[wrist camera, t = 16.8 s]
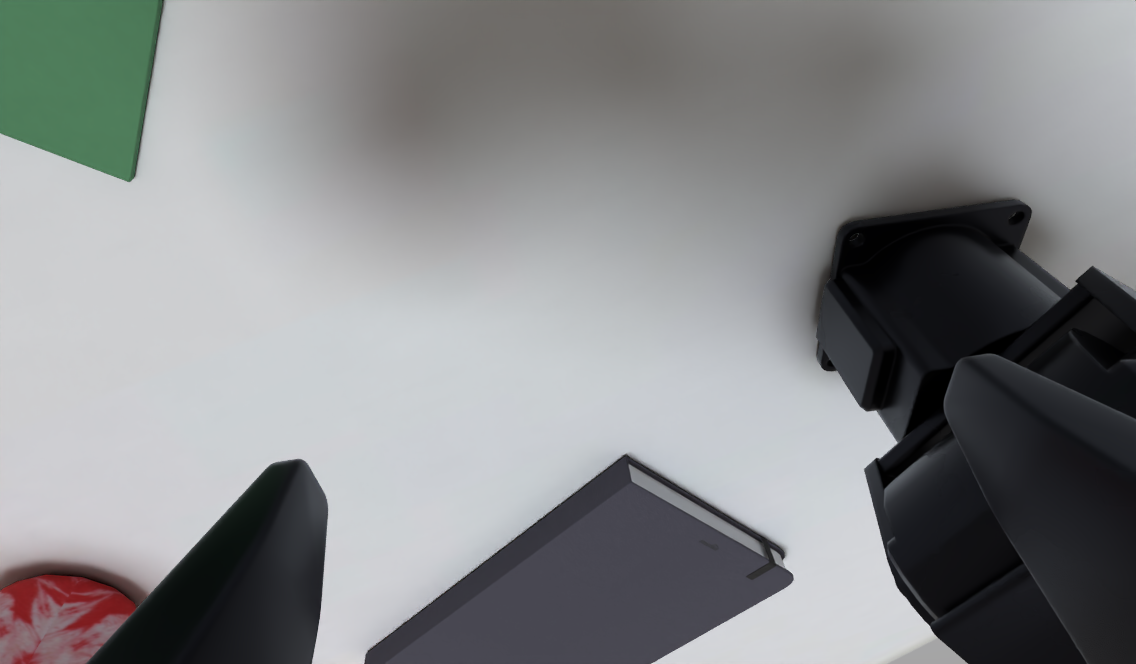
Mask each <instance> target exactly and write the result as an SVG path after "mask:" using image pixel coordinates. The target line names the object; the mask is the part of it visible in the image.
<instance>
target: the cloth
mask: <svg viewBox="0 0 1136 664" xmlns="http://www.w3.org/2000/svg"><path fill="white" fill-rule="evenodd" d="M162 3H163V0H0V133H1V134H4V135H6V136H9V137H12V138H14V139H17V140H19V141H22V142H25V143H27V144H30V145H33V146H35V147H38V148H41V149H43V150H46V151H48V152H51V153H54V154H56V155H59V156H62V157H64V158H67V159H69V160H72V161H75V162H77V163H80V164H83V165H85V166H88V167H91V168H93V169H96V170H98V171H101V172H104V173H106V174H109V175H112V176H114V177H117V178H119V179H122V180H125V181H127V182H130V181H131V180H132V179H134V174H135V168H136V162H137V156H138V150H139V143H140V137H141V131H142V125H143V119H144V113H145V107H146V101H147V95H148V88H149V82H150V76H151V70H152V64H153V58H154V52H155V46H156V40H157V33H158V27H159V21H160V15H161V9H162Z"/></svg>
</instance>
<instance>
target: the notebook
mask: <svg viewBox="0 0 1136 664" xmlns="http://www.w3.org/2000/svg"><path fill="white" fill-rule="evenodd" d="M784 558H785V555H784V552H783V551H782V550H781V549H780V548H779V547H777V546H775V545H774V544H772V543H770V542H769V541H767V540H766V539H765V538H763V537H761V536H759V535H757V534H755V533H754V532H752V531H750V530H749V529H747V528H745V527H744V526H742V525H740V524H739V523H737V522H735V521H734V520H732V519H730V518H729V517H727V516H725V515H724V514H722V513H720V512H718V511H717V510H715V509H713V508H712V507H710V506H708V505H707V504H705V503H703V502H702V501H700V500H698V499H697V498H695V497H693V496H692V495H690V494H688V493H687V492H685V491H683V490H682V489H680V488H678V487H677V486H675V485H673V484H672V483H670V482H668V481H667V480H665V479H663V478H662V477H660V476H658V475H657V474H655V473H653V472H651V471H650V470H648V469H646V468H645V467H643V466H641V465H640V464H638V463H636V462H635V461H633V460H631V459H630V458H628V457H626V456H625V457H623V458H622V459H621V460H619V461H618V462H617V463H615V464H614V465H613V466H611V467H610V468H609V469H608V470H606V471H605V472H604V473H602V474H601V475H600V476H598V477H597V478H596V479H594V480H593V481H592V482H590V483H589V484H588V485H587V486H585V487H584V488H583V489H581V490H580V491H579V492H577V493H576V494H575V495H573V496H572V497H571V498H570V499H568V500H567V501H566V502H564V503H563V504H562V505H560V506H559V507H558V508H556V509H555V510H554V511H552V512H551V513H550V514H549V515H547V516H546V517H545V518H543V519H542V520H541V521H539V522H538V523H537V524H535V525H534V526H533V527H532V528H530V529H529V530H528V531H526V532H525V533H524V534H522V535H521V536H520V537H518V538H517V539H516V540H514V541H513V542H512V543H511V544H509V545H508V546H507V547H505V548H504V549H503V550H501V551H500V552H499V553H497V554H496V555H495V556H494V557H492V558H491V559H490V560H488V561H487V562H486V563H484V564H483V565H482V566H480V567H479V568H478V569H476V570H475V571H474V572H473V573H471V574H470V575H469V576H467V577H466V578H465V579H463V580H462V581H461V582H459V583H458V584H457V585H455V586H454V587H453V588H452V589H450V590H449V591H448V592H446V593H445V594H444V595H442V596H441V597H440V598H438V599H437V600H436V601H435V602H433V603H432V604H431V605H429V606H428V607H427V608H425V609H424V610H423V611H421V612H420V613H419V614H417V615H416V616H415V617H414V618H412V619H411V620H410V621H408V622H407V623H406V624H404V625H403V626H402V627H400V628H399V629H398V630H397V631H395V632H394V633H393V634H391V635H390V636H389V637H387V638H386V639H385V640H383V641H382V642H381V643H379V644H378V645H377V646H376V647H374V648H373V649H372V650H370V651H369V652H368V653H366V657H365V663H364V664H651V663H653V662H655V661H657V660H658V659H660V658H662V657H664V656H665V655H667V654H669V653H671V652H672V651H674V650H676V649H678V648H680V647H681V646H683V645H685V644H687V643H688V642H690V641H692V640H694V639H696V638H697V637H699V636H701V635H703V634H704V633H706V632H708V631H710V630H711V629H713V628H715V627H717V626H719V625H720V624H722V623H724V622H726V621H727V620H729V619H731V618H733V617H735V616H736V615H738V614H740V613H742V612H743V611H745V610H747V609H749V608H750V607H752V606H754V605H756V604H758V603H759V602H761V601H763V600H765V599H766V598H768V597H770V596H772V595H774V594H775V593H777V592H779V591H781V590H782V589H784V588H786V587H787V586H789V585H790V584H791V583H792V582H793V580H794V579H793V574H792V573H791V572H789V571H788V570H786V569H785V566H784V564H783V559H784Z"/></svg>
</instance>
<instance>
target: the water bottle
mask: <svg viewBox="0 0 1136 664" xmlns="http://www.w3.org/2000/svg"><path fill="white" fill-rule="evenodd" d="M135 610H136V606H135V603H133V602H132V601H131V600H130V599H128V598H127V597H126V596H124V595H123V594H122V593H120V592H119V591H118V590H117V589H115V588H113V587H110V586H107V585H104V584H101V583H98V582H95V581H92V580H89V579H86V578H83V577H73V576H59V575H42V576H38V577H33V578H29V579H25V580H21V581H17V582H15V583H13V584H11V585H9V586H7V587H5V588H3V589H2V590H1V591H0V664H86V663H87V662H88V661H89V659H90V658H91V657H92V656H93V655H94V654H95V653H96V652H97V651H98V650H99V649H100V648H101V646H102V645H103V644H104V643H105V642H106V641H107V640H108V639H109V638H110V637H111V636H112V635H113V634H114V632H115V631H116V630H117V629H118V628H119V627H120V626H121V625H122V624H123V623H124V622H125V621H126V619H127V618H128V617H129V616H130V615H131V614H132V613H133V612H134V611H135Z"/></svg>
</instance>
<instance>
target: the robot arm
mask: <svg viewBox="0 0 1136 664" xmlns="http://www.w3.org/2000/svg"><path fill="white" fill-rule="evenodd" d="M1014 213H1016V214H1015V215H1014V216H1013V217H1012V218H1010V217H1011V215H1013V214H1014ZM1031 214H1032V210H1031V208H1030V207H1029V206H1028V205H1026V204H1025V203H1023V202H1022V201H1020V200H1008V201H1000V202H993V203H986V204H978V205H971V206H963V207H956V208H949V209H941V210H934V211H927V212H919V213H912V214H904V215H897V216H890V217H882V218H875V219H868V220H860V221H853V222H850V223H848V224H846V225H845V226H843V227H842V228H841V230H840V231H839V233H838V236H837V241H836V247H835V253H834V259H833V265H832V271H831V277H830V280H828V282H827V283H826V285H825V286H824V292H823V298H822V304H821V310H820V317H819V323H818V329H817V335H816V337H817V340H818V341H819V349H818V355H817V360H818V362H819V364H820V365H821V367H822V368H823V369H824V370H826V371H838V373H839V374H840V376H841V377H842V379H843V381H844V382H845V384H846V385H847V387H848V389H849V390H850V392H851V393H852V395H853V396H854V398H855V400H856V401H857V403H858V404H859V406H860V407H861V408H863V409H864V410H865V411H875V410H877V412H878V414H879V415H880V417H881V418H882V420H883V421H884V423H885V424H886V426H887V427H888V429H889V430H890V432H891V433H892V435H893V436H894V438H895V439H896V441H897V442H898V443H897V444H896V445H895V446H894V447H893V448H892V449H891V450H890V451H888V452H887V453H886V454H885V455H884V456H883V457H882V458H881V459H879V458H876V459H875V460H874V461H873V462H871V463H870V464H869V465H868V466H867V467H866V468H865V469H864V471H865V475H866V479H867V482H868V486H869V490H870V494H871V498H872V502H873V506H874V510H875V514H876V517H877V521H878V525H879V529H880V533H881V537H882V541H883V545H884V548H885V552H886V556H887V560H888V563H889V566H890V569H891V572H892V574H893V576H894V579H895V583H896V585H897V588H898V589H899V591H900V592H901V593H902V594H903V595H904V596H905V597H906V598H907V599H908V601H909V602H910V604H911V605H912V606H913V608H914V609H915V610H916V611H917V612H918V613H919V615H920V616H921V617H922V618H923V619H924V621H925V622H926V623H928V624H929V625H930V627H931V629H932V631H933V633H934V634H935V635H936V636H937V637H938V638H939V639H940V640H941V641H942V642H944V643H945V644H946V645H947V646H948V647H950V648H951V649H952V650H953V651H954V652H955V653H956V654H958V655H959V656H960V657H961V658H962V659H963V660H965V661H966V662H967V663H968V664H1136V291H1134V290H1133V289H1131V288H1129V287H1128V286H1126V285H1124V284H1123V283H1121V282H1119V281H1117V280H1116V279H1114V278H1112V277H1111V276H1109V275H1107V274H1106V273H1104V272H1102V271H1101V270H1099V269H1097V268H1095V267H1094V266H1092V267H1090V268H1089V269H1088V270H1087V271H1086V272H1085V273H1084V274H1083V275H1081V276H1080V277H1079V278H1078V279H1077V280H1076V281H1075V282H1076V283H1078V284H1077V285H1076V286H1075V287H1074V288H1072V289H1071V290H1070V289H1068V288H1067V287H1066V286H1065V285H1063V284H1062V283H1061V282H1060V281H1058V280H1057V279H1056V278H1054V277H1053V276H1052V275H1051V274H1049V273H1048V272H1047V271H1045V270H1044V269H1043V268H1042V267H1040V266H1039V265H1038V264H1037V263H1035V262H1034V261H1033V260H1031V259H1030V258H1029V257H1028V256H1026V255H1025V254H1024V253H1023V252H1021V251H1020V250H1019V248H1020V245H1021V242H1022V240H1023V237H1024V234H1025V231H1026V229H1027V226H1028V223H1029V221H1030V218H1031ZM1009 218H1010V219H1009ZM857 233H859V234H858V237H856V238H855V239H854V240H851V241H849V240H850V238H851V237H852V236H853V235H854V234H857ZM829 359H830V360H829ZM327 519H328V504H327V499H326V496H325V494H324V492H323V490H322V488H321V486H320V485H319V483H318V481H317V479H316V478H315V476H314V474H313V472H312V471H311V469H310V467H309V465H308V464H307V463H306V462H305V461H304V460H302V459H294V460H288V461H281V462H276V463H273V464H271V465H270V466H268V467H267V468H266V469H265V470H264V472H263V473H262V474H261V475H260V476H259V477H258V478H257V479H256V480H255V481H254V482H253V483H252V484H251V486H250V487H249V488H248V489H247V490H246V491H245V492H244V493H243V494H242V495H241V496H240V497H239V499H238V500H237V501H236V502H235V503H234V504H233V505H232V506H231V507H230V508H229V509H228V510H227V511H226V513H225V514H224V515H223V516H222V517H221V518H220V519H219V520H218V521H217V522H216V523H215V524H214V526H213V527H212V528H211V529H210V530H209V531H208V532H207V533H206V534H205V535H204V536H203V537H202V538H201V540H200V541H199V542H198V543H197V544H196V545H195V546H194V547H193V548H192V549H191V550H190V551H189V553H188V554H187V555H186V556H185V557H184V558H183V559H182V560H181V561H180V562H179V563H178V564H177V565H176V567H175V568H174V569H173V570H172V571H171V572H170V573H169V574H168V575H167V576H166V577H165V578H164V580H163V581H162V582H161V583H160V584H159V585H158V586H157V587H156V588H155V589H154V590H153V591H152V592H151V594H150V595H149V596H148V597H147V598H146V599H145V600H144V601H143V602H142V603H141V604H140V605H139V607H138V608H137V609H136V610H135V611H134V612H133V613H132V614H131V615H130V616H129V617H128V618H127V619H126V621H125V622H124V623H123V624H122V625H121V626H120V627H119V628H118V629H117V630H116V631H115V632H114V634H113V635H112V636H111V637H110V638H109V639H108V640H107V641H106V642H105V643H104V644H103V645H102V646H101V648H100V649H99V650H98V651H97V652H96V653H95V654H94V655H93V656H92V657H91V658H90V659H89V661H88V662H87V663H86V664H312V659H313V653H314V648H315V643H316V637H317V632H318V625H319V619H320V610H321V601H322V587H323V574H324V560H325V547H326V533H327Z"/></svg>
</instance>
